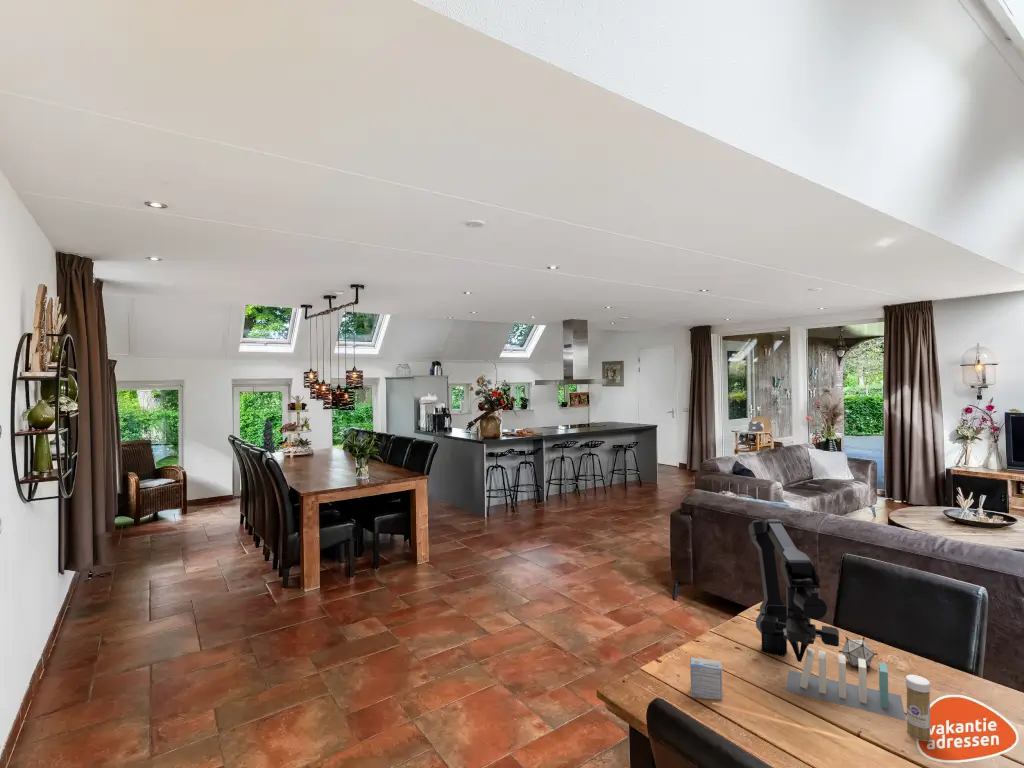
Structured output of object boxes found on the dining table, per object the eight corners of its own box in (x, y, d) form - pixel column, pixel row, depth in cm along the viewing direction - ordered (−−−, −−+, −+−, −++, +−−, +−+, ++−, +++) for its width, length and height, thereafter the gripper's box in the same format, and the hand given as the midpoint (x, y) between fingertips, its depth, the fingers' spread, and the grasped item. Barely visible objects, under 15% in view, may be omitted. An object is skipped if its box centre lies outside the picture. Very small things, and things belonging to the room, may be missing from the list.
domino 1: (800, 686, 145) (807, 655, 145) (801, 677, 150) (807, 647, 149) (806, 689, 145) (813, 657, 144) (807, 680, 149) (814, 649, 148)
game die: (859, 676, 158) (872, 644, 161) (875, 680, 150) (888, 647, 153) (829, 657, 161) (842, 626, 163) (842, 661, 153) (856, 628, 155)
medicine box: (722, 693, 145) (721, 660, 145) (722, 702, 140) (722, 669, 141) (691, 688, 147) (690, 656, 147) (690, 697, 143) (690, 664, 143)
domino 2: (819, 692, 143) (818, 658, 143) (819, 683, 147) (819, 650, 147) (826, 693, 142) (825, 659, 142) (826, 684, 147) (825, 651, 147)
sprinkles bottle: (905, 738, 125) (904, 679, 125) (907, 728, 129) (906, 671, 129) (931, 746, 122) (929, 686, 122) (932, 736, 126) (930, 678, 126)
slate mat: (785, 693, 144) (785, 690, 144) (788, 672, 154) (788, 670, 154) (906, 722, 131) (905, 720, 131) (900, 697, 141) (900, 695, 141)
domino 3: (839, 697, 141) (838, 662, 141) (839, 687, 145) (838, 654, 145) (846, 698, 140) (845, 663, 140) (846, 689, 144) (845, 655, 144)
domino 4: (859, 701, 139) (858, 666, 139) (858, 692, 143) (858, 658, 143) (867, 703, 138) (866, 668, 138) (866, 693, 142) (865, 659, 142)
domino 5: (880, 707, 136) (880, 671, 136) (879, 697, 140) (878, 662, 141) (888, 708, 135) (887, 672, 135) (887, 698, 140) (886, 663, 140)
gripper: (756, 607, 146) (758, 665, 146) (837, 622, 136) (839, 684, 136) (762, 593, 155) (763, 648, 155) (838, 606, 145) (839, 664, 145)
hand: (799, 661), depth 148 cm, fingers closed
